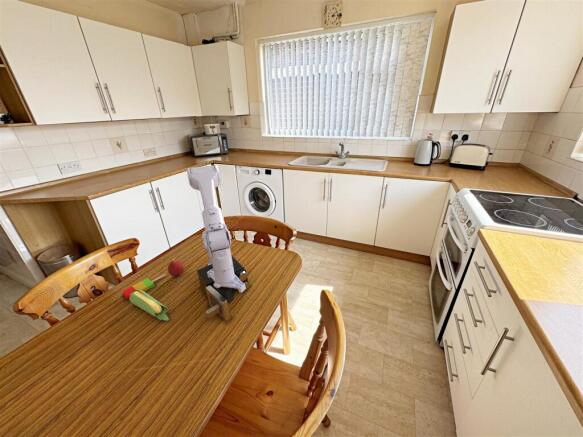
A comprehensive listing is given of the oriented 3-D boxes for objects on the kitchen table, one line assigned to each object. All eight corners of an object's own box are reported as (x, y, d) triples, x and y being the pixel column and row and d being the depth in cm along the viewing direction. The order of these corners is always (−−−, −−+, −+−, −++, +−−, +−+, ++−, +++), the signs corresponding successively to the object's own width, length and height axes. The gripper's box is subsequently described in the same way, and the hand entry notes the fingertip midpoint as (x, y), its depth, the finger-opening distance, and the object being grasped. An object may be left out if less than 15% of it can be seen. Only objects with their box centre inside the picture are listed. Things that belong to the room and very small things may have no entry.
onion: (179, 281, 93) (175, 264, 90) (167, 279, 94) (161, 263, 91) (188, 272, 98) (184, 255, 95) (176, 270, 99) (171, 254, 96)
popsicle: (122, 295, 87) (120, 291, 86) (162, 273, 98) (161, 270, 97) (129, 301, 84) (127, 297, 83) (169, 278, 95) (168, 274, 94)
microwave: (249, 288, 88) (247, 270, 85) (213, 306, 80) (209, 288, 77) (235, 272, 97) (232, 255, 94) (201, 287, 89) (196, 270, 86)
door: (214, 329, 72) (209, 311, 69) (198, 312, 78) (193, 294, 75) (230, 318, 76) (227, 299, 72) (213, 302, 82) (209, 285, 79)
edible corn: (142, 294, 87) (138, 284, 85) (176, 315, 77) (172, 305, 76) (127, 303, 83) (123, 293, 81) (161, 327, 73) (157, 316, 72)
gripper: (196, 265, 72) (204, 300, 77) (230, 281, 64) (237, 318, 70) (214, 254, 77) (221, 287, 83) (248, 268, 70) (252, 302, 76)
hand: (229, 300), depth 77 cm, fingers closed
